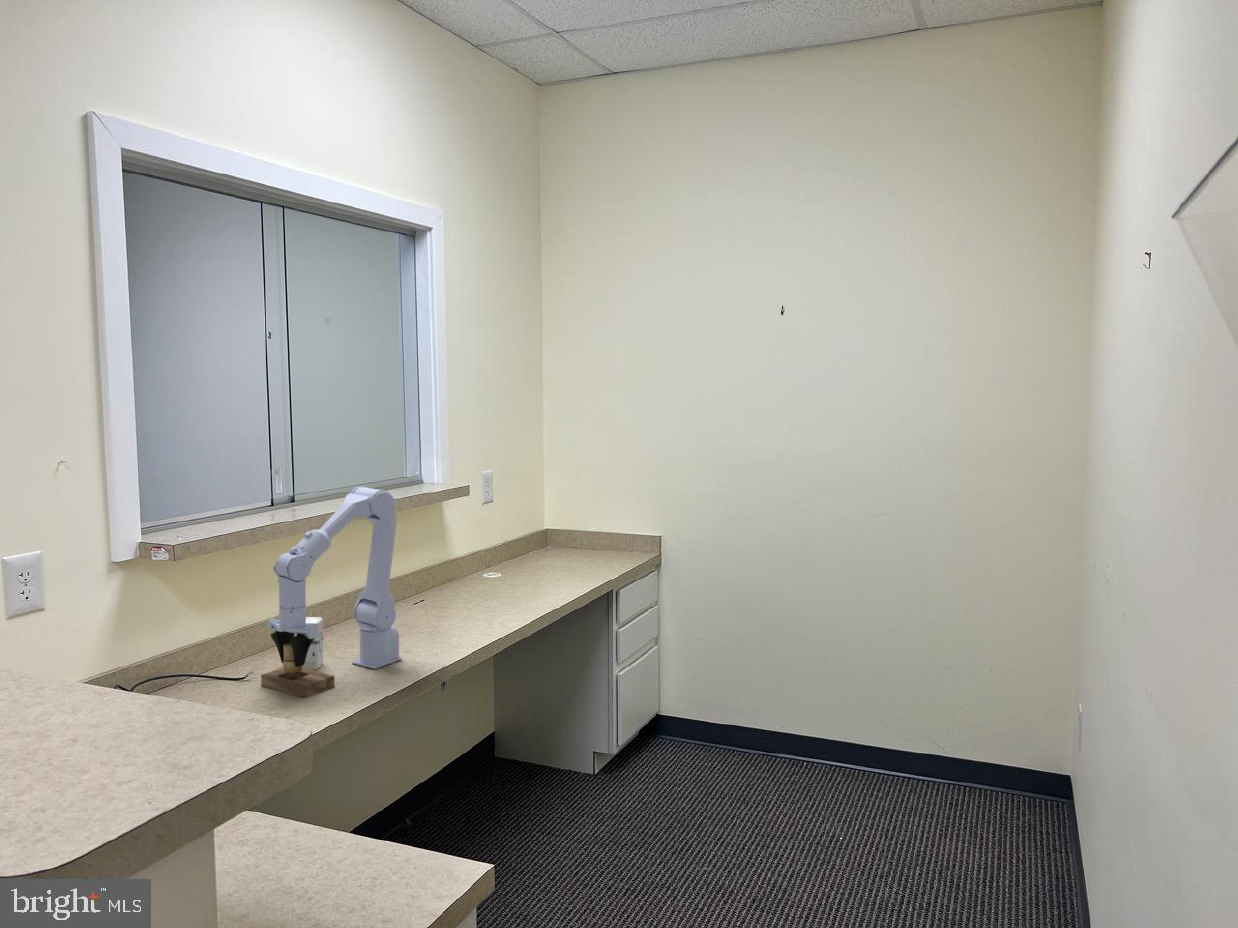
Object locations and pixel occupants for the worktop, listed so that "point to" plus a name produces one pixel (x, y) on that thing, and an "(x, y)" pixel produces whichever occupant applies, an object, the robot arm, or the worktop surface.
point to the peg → (289, 659)
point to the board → (298, 681)
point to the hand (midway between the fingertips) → (292, 663)
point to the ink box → (314, 645)
